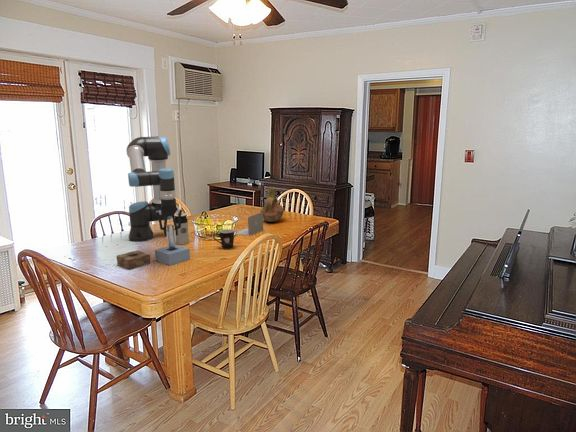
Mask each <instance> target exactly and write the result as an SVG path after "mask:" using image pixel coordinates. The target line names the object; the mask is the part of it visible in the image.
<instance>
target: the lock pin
mask: <svg viewBox="0 0 576 432" xmlns="http://www.w3.org/2000/svg"><path fill="white" fill-rule="evenodd" d="M174 229H175V227H174V224H167V228H166V230H168V239H169V243H168V246H169V251H173V250H175V244H176V242H175V240H174Z"/></svg>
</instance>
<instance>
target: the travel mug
mask: <svg viewBox="0 0 576 432" xmlns="http://www.w3.org/2000/svg"><path fill="white" fill-rule="evenodd" d="M187 214H188V213H184V212H182V213H181V228H179V229H178V235H176V242H175V244H176V245H179V246H183V245H187V244H189V243H190V238H189V236H190V235H189V221H188V217H187ZM174 216H175V220H176V224H177V226H178V213H175V214H174Z"/></svg>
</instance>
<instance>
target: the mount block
mask: <svg viewBox="0 0 576 432" xmlns="http://www.w3.org/2000/svg"><path fill="white" fill-rule="evenodd" d="M150 264H151V255H150V253H146V252H144V251H141V250H133V251H130V252H126V253H125V252H124V253H122V254H117V255H116V265H117V266H119V267H121V268H124V269H127V270H130V271H131V270H134V269H137V268H140V267H144V266H147V265H150Z"/></svg>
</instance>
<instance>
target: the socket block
mask: <svg viewBox="0 0 576 432" xmlns="http://www.w3.org/2000/svg"><path fill="white" fill-rule="evenodd" d="M154 256H155V257H154V259H155V261H156V262H159V263H161V264H164V265H167V266H173V265H176V264H179V263H182V262H185V261H188V260H191V251H190V248H189V247H185V246H183V245H179V244H176V243H175V250H173V251H169V245H167V246H164V247H161V248H157V249H154Z"/></svg>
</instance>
